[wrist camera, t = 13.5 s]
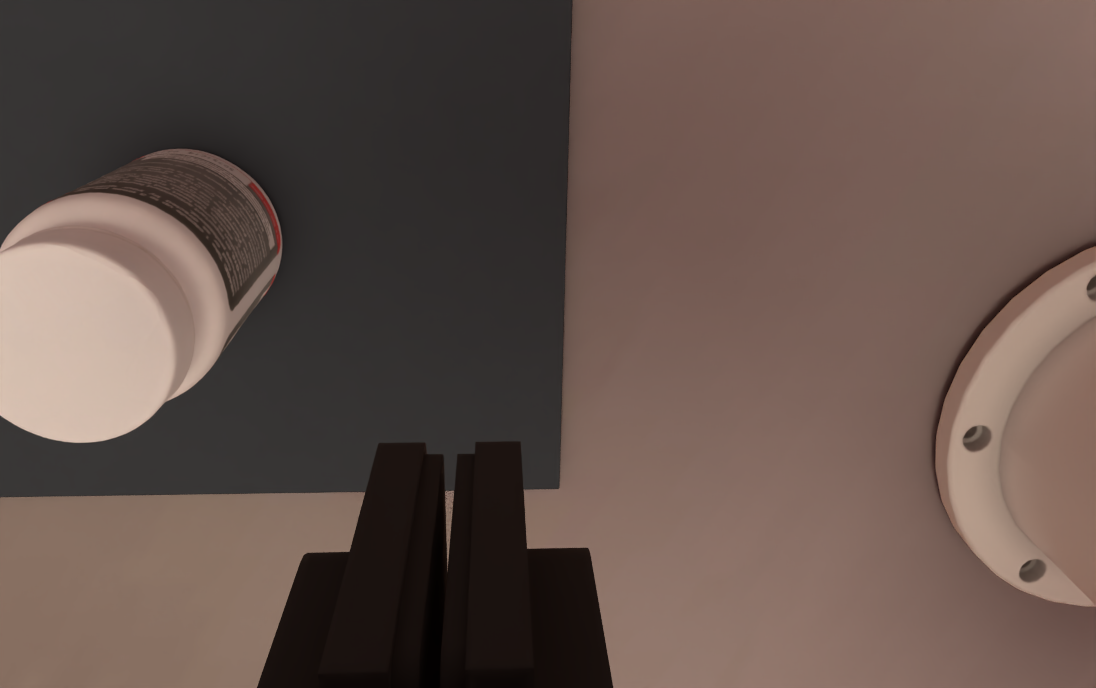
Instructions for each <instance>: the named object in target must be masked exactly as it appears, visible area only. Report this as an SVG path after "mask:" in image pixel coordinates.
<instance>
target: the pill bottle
mask: <svg viewBox="0 0 1096 688" xmlns="http://www.w3.org/2000/svg"><path fill="white" fill-rule="evenodd" d="M281 255H282V234H281V228H280V224H279V220H278V217H277V214H276V212H275V209H274V207H273V205H272V203H271V201H270V200H269V198H268V196H267V195H266V193H265V192H264V191H263V189H262V188H261V187H260V186H259V185H258V183H257V182H256V181H255V180H254V179H253V178H252V177H250V176H249V175H248V174H247V173H246V172H244V171H243V170H241V169H240V168H239V167H237V166H236V165H234V164H232V163H230V162H229V161H227V160H225V159H223V158H221V157H218V156H216V155H213V154H210V153H207V152H203V151H199V150H192V149H168V150H162V151H157V152H154V153H151V154H148V155H145V156H143V157H140V158H138V159H136V160H134V161H132V162H130V163H128V164H126V165H124V166H122V167H120V168H118V169H116V170H114V171H112V172H110V173H108V174H106V175H104V176H102V177H100V178H98V179H96V180H94V181H92V182H90V183H88V184H86V185H84V186H81V187H79V188H77V189H75V190H73V191H71V192H69V193H66V194H65V195H62V196H60V197H58V198H56V199H54V200H52V201H49V202H47V203H46V204H44V205H42V206H40V207H39V208H37V209H36V210H34V211H33V212H32V213H30V214H29V215H28V216H26V217H25V218H24V219H23V220H22V221H21V222H20V223H18V224H17V225H16V227H15V228H14V229H13V230H12V231H11V232H10V233H9V234H8V236H7V237H6V239H5V240H4V242H3V244H2V246H1V248H0V416H2V417H3V418H5V419H6V420H8V421H9V422H11V423H13V424H14V425H16V426H18V427H20V428H22V429H24V430H26V431H28V432H31V433H33V434H36V435H39V436H42V437H45V438H48V439H52V440H57V441H63V442H73V443H88V442H98V441H105V440H108V439H112V438H115V437H118V436H121V435H123V434H126V433H128V432H130V431H132V430H134V429H136V428H137V427H139V426H140V425H142V424H143V423H144V422H146V421H147V420H148V419H150V418H151V417H152V416H153V415H154V414H155V413H156V412H157V410H158V409H159V408H160V407H161V406H162V405H163V404H164V403H165V402H166V401H168V400H171V399H173V398H175V397H177V396H179V395H180V394H182V393H184V392H186V391H187V390H188V389H190V388H191V387H192V386H194V385H195V384H196V383H197V382H198V381H199V380H200V379H202V378H203V376H204V375H205V374H206V373H207V372H208V371H209V370H210V369H211V368H212V366H213V365H214V364H215V363H216V361H217V360H218V358H219V357H220V355H221V354H222V352H223V351H224V350H225V348H226V347H227V345H228V344H229V343H230V341H231V340H232V338H233V337H234V336H235V334H236V333H237V331H238V330H239V328H240V327H241V326H242V324H243V323H244V322H245V320H246V319H247V317H248V316H249V315H250V313H251V312H252V311H253V309H254V308H255V307H256V306H257V304H258V303H259V302H260V300H261V299H262V298H263V296H264V295H265V294H266V293H267V291H268V290H269V288H270V286H271V285H272V283H273V281H274V279H275V277H276V274H277V271H278V269H279V265H280V261H281Z"/></svg>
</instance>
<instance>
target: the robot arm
mask: <svg viewBox="0 0 1096 688" xmlns="http://www.w3.org/2000/svg"><path fill="white" fill-rule="evenodd" d="M935 470H936V475H937V480H938V486H939V491H940V496H941V500H942V502H943V505H944V507H945V509H946V511H947V514H948V516H949V518H950V520H951V523H952V525H953V527H954V528H955V530H956V531H957V532H958V533H959V535H960V536H961V537H962V539H963V540H964V541H965V542H966V544H967V545H968V546H969V548H970V549H971V550H972V551H973V552H974V554H975V555H976V556H977V557H978V558H979V559H980V560H981V561H982V562H983V563H984V564H985V565H986V566H987V567H988V568H989V569H990V570H991V571H992V572H993V573H994V574H995V575H997V576H998V577H1000V578H1001V579H1003V580H1004V581H1006V582H1007V583H1009V584H1010V585H1012V586H1013V587H1015V588H1017V589H1019V590H1021V591H1023V592H1026V593H1029V594H1032V595H1035V596H1037V597H1040V598H1043V599H1046V600H1049V601H1051V602H1058V603H1065V604H1071V605H1078V606H1096V246H1095V247H1092V248H1089V249H1086V250H1084V251H1082V252H1081V253H1079V254H1077V255H1075V256H1073V257H1072V258H1070V259H1068V260H1066V261H1065V262H1063V263H1061V264H1059V265H1057V266H1056V267H1054V268H1052V269H1050V270H1048V271H1047V272H1045V273H1044V274H1043V275H1042V276H1040V277H1039V278H1038V279H1037V280H1035V281H1034V282H1033V283H1031V284H1030V285H1029V286H1028V287H1026V288H1025V289H1024V290H1023V291H1021V292H1020V293H1019V294H1017V295H1016V296H1015V297H1014V298H1012V299H1011V300H1010V302H1009V303H1008V304H1007V305H1006V306H1005V307H1004V308H1003V309H1002V310H1001V311H1000V312H999V313H998V314H997V316H996V317H995V318H994V319H993V320H992V321H991V322H990V323H989V324H988V325H987V326H986V327H985V328H984V330H983V331H982V332H981V334H980V335H979V337H978V338H977V340H976V341H975V343H974V344H973V346H972V347H971V349H970V350H969V352H968V353H967V355H966V356H965V358H964V359H963V361H962V362H961V364H960V366H959V368H958V371H957V373H956V375H955V377H954V380H953V382H952V384H951V386H950V389H949V391H948V393H947V395H946V398H945V400H944V404H943V409H942V413H941V417H940V421H939V425H938V430H937V434H936V459H935ZM257 688H613V684H612V678H611V672H610V666H609V660H608V655H607V649H606V643H605V637H604V631H603V625H602V619H601V614H600V608H599V602H598V596H597V590H596V584H595V579H594V573H593V567H592V561H591V556H590V551H589V549H588V548H548V549H527V543H526V525H525V508H524V490H523V473H522V455H521V441H498V442H476V443H475V454H457V465H456V477H455V489H454V501H453V513H452V525H451V537H450V549H449V561H448V573H447V543H446V509H445V474H444V456H443V454H427V449H426V443H425V442H412V443H379V444H378V447H377V450H376V454H375V458H374V462H373V466H372V469H371V473H370V477H369V481H368V485H367V488H366V492H365V496H364V500H363V504H362V507H361V511H360V515H359V519H358V523H357V526H356V530H355V534H354V538H353V542H352V545H351V549H350V552H328V553H307V554H305V555H304V556H303V558H302V560H301V562H300V565H299V568H298V571H297V574H296V576H295V579H294V582H293V585H292V588H291V591H290V594H289V597H288V600H287V603H286V605H285V608H284V611H283V614H282V617H281V620H280V623H279V626H278V629H277V631H276V634H275V637H274V640H273V643H272V646H271V649H270V652H269V655H268V657H267V660H266V663H265V666H264V669H263V672H262V675H261V678H260V681H259V683H258V686H257Z"/></svg>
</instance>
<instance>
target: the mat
mask: <svg viewBox="0 0 1096 688" xmlns="http://www.w3.org/2000/svg"><path fill="white" fill-rule="evenodd" d="M571 33H572V0H0V248H1V246H2V244H3V242H4V240H5V239H6V237H7V236H8V234H9V233H10V232H11V231H12V230H13V229H14V228H15V227H16V225H17V224H18V223H20V222H21V221H22V220H23V219H24V218H25V217H26V216H28V215H29V214H30V213H32V212H33V211H34V210H36V209H37V208H39V207H40V206H42V205H44V204H46V203H47V202H49V201H52V200H54V199H56V198H58V197H60V196H62V195H65V194H66V193H69V192H71V191H73V190H75V189H77V188H79V187H81V186H84V185H86V184H88V183H90V182H92V181H94V180H96V179H98V178H100V177H102V176H104V175H106V174H108V173H110V172H112V171H114V170H116V169H118V168H120V167H122V166H124V165H126V164H128V163H130V162H132V161H134V160H136V159H138V158H140V157H143V156H145V155H148V154H151V153H154V152H157V151H162V150H168V149H192V150H199V151H203V152H207V153H210V154H213V155H216V156H218V157H221V158H223V159H225V160H227V161H229V162H230V163H232V164H234V165H236V166H237V167H239V168H240V169H241V170H243V171H244V172H246V173H247V174H248V175H249V176H250V177H252V178H253V179H254V180H255V181H256V182H257V183H258V185H259V186H260V187H261V188H262V189H263V191H264V192H265V193H266V195H267V196H268V198H269V200H270V201H271V203H272V205H273V207H274V209H275V212H276V214H277V217H278V220H279V224H280V228H281V234H282V255H281V261H280V265H279V269H278V271H277V274H276V277H275V279H274V281H273V283H272V285H271V286H270V288H269V290H268V291H267V293H266V294H265V295H264V296H263V298H262V299H261V300H260V302H259V303H258V304H257V306H256V307H255V308H254V309H253V311H252V312H251V313H250V315H249V316H248V317H247V319H246V320H245V322H244V323H243V324H242V326H241V327H240V328H239V330H238V331H237V333H236V334H235V336H234V337H233V338H232V340H231V341H230V343H229V344H228V345H227V347H226V348H225V350H224V351H223V352H222V354H221V355H220V357H219V358H218V360H217V361H216V363H215V364H214V365H213V366H212V368H211V369H210V370H209V371H208V372H207V373H206V374H205V375H204V376H203V378H202V379H200V380H199V381H198V382H197V383H196V384H195V385H194V386H192V387H191V388H190V389H188V390H187V391H186V392H184V393H182V394H180V395H179V396H177V397H175V398H173V399H171V400H168V401H166V402H165V403H164V404H163V405H162V406H161V407H160V408H159V409H158V410H157V412H156V413H155V414H154V415H153V416H152V417H151V418H150V419H148V420H147V421H146V422H144V423H143V424H142V425H140V426H139V427H137V428H136V429H134V430H132V431H130V432H128V433H126V434H123V435H121V436H118V437H115V438H112V439H108V440H105V441H98V442H88V443H73V442H63V441H57V440H52V439H48V438H45V437H42V436H39V435H36V434H33V433H31V432H28V431H26V430H24V429H22V428H20V427H18V426H16V425H14V424H13V423H11V422H9V421H8V420H6V419H5V418H3V417H2V416H0V497H43V496H112V495H180V494H249V493H317V492H366V488H367V485H368V481H369V477H370V473H371V469H372V466H373V462H374V458H375V454H376V450H377V447H378V444H379V443H412V442H425V443H426V449H427V454H443V456H444V474H445V491H454V489H455V477H456V465H457V454H475V443H476V442H498V441H521V455H522V473H523V489H559V481H560V444H561V406H562V369H563V332H564V294H565V257H566V220H567V182H568V145H569V108H570V70H571Z"/></svg>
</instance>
